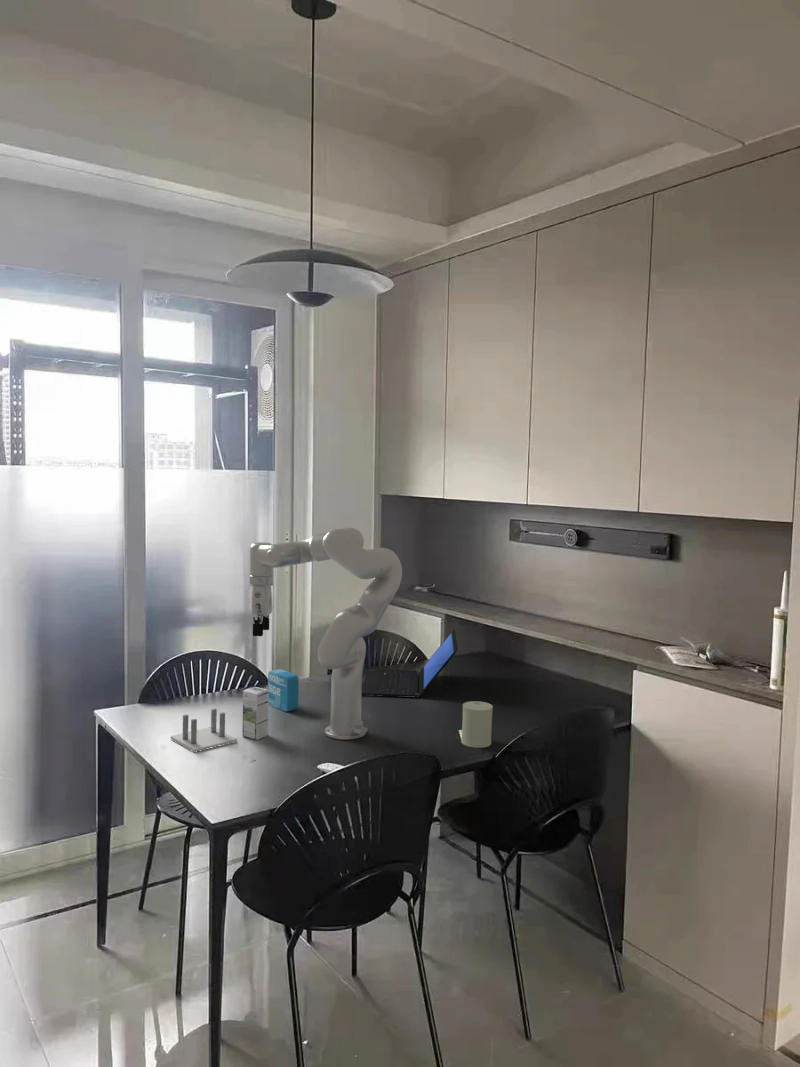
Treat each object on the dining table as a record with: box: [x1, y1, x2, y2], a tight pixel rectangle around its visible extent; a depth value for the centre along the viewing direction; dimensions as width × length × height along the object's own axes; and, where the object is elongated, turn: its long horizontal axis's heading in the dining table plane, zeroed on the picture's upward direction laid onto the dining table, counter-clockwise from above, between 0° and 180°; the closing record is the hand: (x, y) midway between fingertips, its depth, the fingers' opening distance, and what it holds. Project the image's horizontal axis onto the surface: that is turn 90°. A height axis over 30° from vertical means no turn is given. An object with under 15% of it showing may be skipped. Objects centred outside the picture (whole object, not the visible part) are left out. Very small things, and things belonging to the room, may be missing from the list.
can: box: [460, 700, 494, 749], centre depth 239 cm, size 9×9×12 cm
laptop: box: [362, 629, 459, 698], centre depth 299 cm, size 33×38×19 cm
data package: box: [267, 668, 300, 713], centre depth 267 cm, size 12×4×12 cm, turn 43°
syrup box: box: [242, 686, 269, 741], centre depth 238 cm, size 6×6×14 cm
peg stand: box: [170, 708, 238, 753], centre depth 233 cm, size 14×14×8 cm
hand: (261, 632), depth 256 cm, fingers open, 9 cm apart
